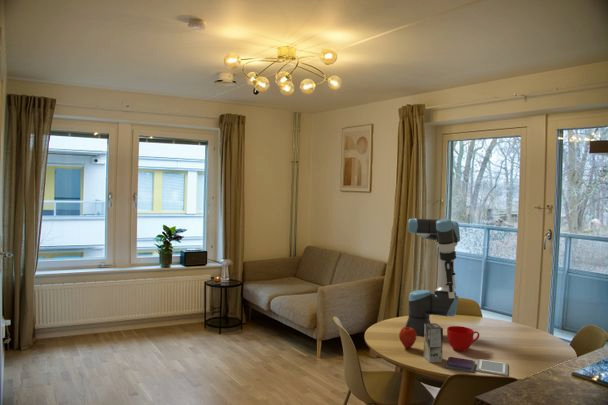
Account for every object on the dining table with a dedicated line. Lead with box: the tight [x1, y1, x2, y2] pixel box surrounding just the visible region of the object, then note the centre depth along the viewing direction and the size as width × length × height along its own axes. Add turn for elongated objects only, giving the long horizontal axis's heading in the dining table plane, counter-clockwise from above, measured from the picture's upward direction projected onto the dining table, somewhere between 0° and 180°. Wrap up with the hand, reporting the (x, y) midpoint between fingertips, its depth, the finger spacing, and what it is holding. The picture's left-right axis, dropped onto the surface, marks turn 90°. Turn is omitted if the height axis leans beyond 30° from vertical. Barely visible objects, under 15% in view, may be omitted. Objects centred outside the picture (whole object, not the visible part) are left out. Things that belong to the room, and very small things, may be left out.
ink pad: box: [445, 356, 476, 373], centre depth 219 cm, size 12×12×2 cm
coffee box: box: [423, 322, 444, 363], centre depth 227 cm, size 9×6×16 cm
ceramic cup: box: [446, 325, 480, 352], centre depth 242 cm, size 13×17×10 cm
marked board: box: [475, 358, 509, 377], centre depth 217 cm, size 13×15×1 cm
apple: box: [398, 326, 417, 349], centre depth 241 cm, size 9×8×11 cm
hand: (452, 293), depth 233 cm, fingers open, 13 cm apart
